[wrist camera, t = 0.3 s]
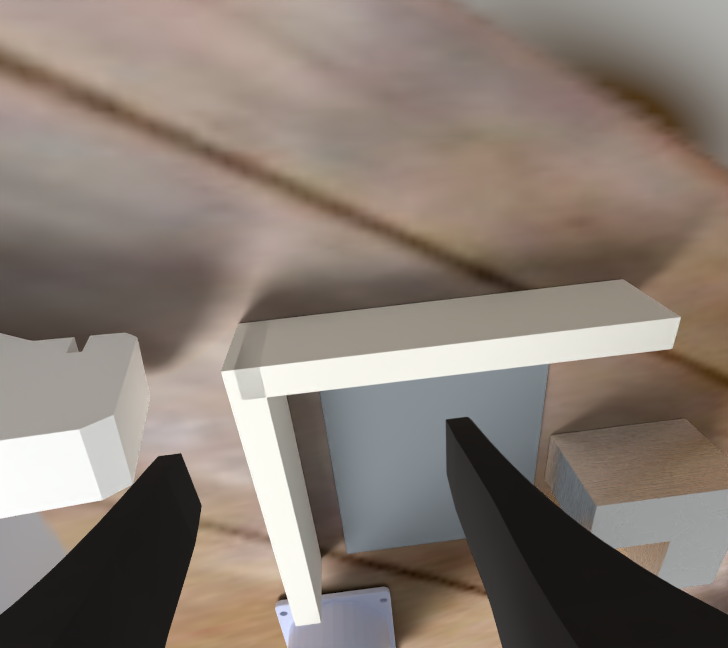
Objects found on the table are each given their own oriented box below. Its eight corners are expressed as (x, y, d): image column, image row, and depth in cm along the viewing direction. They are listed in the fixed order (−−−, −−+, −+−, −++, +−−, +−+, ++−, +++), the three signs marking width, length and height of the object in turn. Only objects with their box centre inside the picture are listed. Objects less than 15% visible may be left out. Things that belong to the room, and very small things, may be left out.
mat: (526, 527, 30) (528, 530, 30) (347, 550, 30) (347, 553, 29) (549, 348, 23) (550, 350, 23) (317, 376, 23) (317, 378, 23)
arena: (573, 526, 30) (606, 585, 27) (299, 562, 30) (295, 626, 26) (623, 279, 22) (681, 317, 18) (238, 323, 21) (220, 371, 18)
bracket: (655, 510, 30) (711, 583, 26) (537, 526, 30) (574, 602, 25) (684, 418, 26) (757, 485, 22) (550, 435, 26) (596, 506, 22)
